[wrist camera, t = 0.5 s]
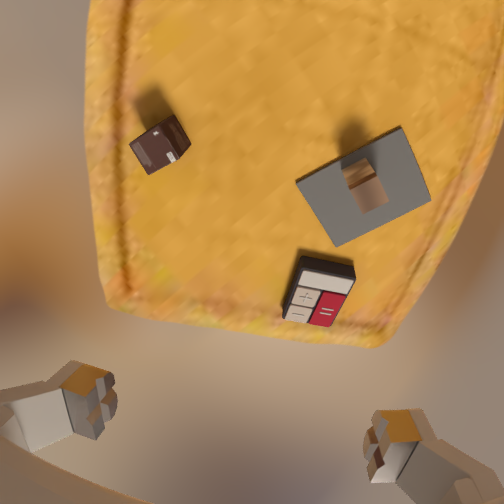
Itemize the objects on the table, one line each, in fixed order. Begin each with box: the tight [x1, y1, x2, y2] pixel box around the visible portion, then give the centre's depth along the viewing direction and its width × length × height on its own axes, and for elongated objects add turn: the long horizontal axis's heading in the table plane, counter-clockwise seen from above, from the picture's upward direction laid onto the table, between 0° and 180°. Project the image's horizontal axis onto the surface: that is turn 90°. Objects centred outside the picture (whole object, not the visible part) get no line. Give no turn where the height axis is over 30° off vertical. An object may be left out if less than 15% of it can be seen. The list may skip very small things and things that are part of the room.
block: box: [342, 158, 389, 214], centre depth 47 cm, size 4×4×8 cm
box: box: [129, 115, 191, 175], centre depth 47 cm, size 6×6×7 cm
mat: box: [296, 128, 431, 247], centre depth 52 cm, size 20×15×1 cm
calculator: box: [282, 256, 356, 327], centre depth 65 cm, size 11×4×15 cm
